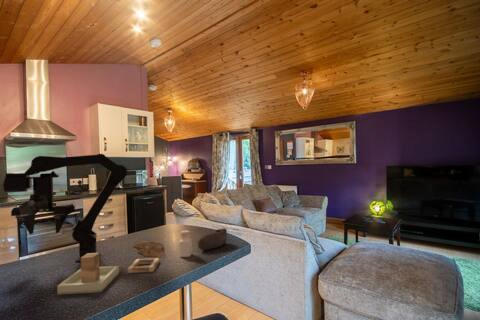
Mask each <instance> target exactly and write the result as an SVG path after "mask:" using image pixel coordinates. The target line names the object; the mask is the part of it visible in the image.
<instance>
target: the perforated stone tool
mask: <svg viewBox="0 0 480 320" xmlns="http://www.w3.org/2000/svg"><path fill="white" fill-rule="evenodd" d="M227 239H228V235H227V229H226V228H225V227H224V228H218V229H216V230H213V231H210V232H208V233H206V234H204V235H202V237H201V238H200V239H199V240H198V243H197V246H198V249H199V250H202V251H208V250H213V248H214V249H216V248H220V247H221V246H224V245H226V242H227Z"/></svg>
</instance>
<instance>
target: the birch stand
mask: <svg viewBox="0 0 480 320" xmlns="http://www.w3.org/2000/svg"><path fill="white" fill-rule="evenodd" d="M159 263H160V258H158V257H145V258H136V259H135V260H134V262H132V264H130V266H128V268H127V273H128V274H132V273H133V274H134V273H136V274H138V273H153V272H154V270H155V269H156V268H157V266H158V265H159ZM142 265H143V266H142Z"/></svg>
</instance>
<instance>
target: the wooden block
mask: <svg viewBox="0 0 480 320" xmlns="http://www.w3.org/2000/svg"><path fill="white" fill-rule="evenodd" d="M99 253H100V252H97V253H87V254H86V255H84V256H83V257H81V261H80V269H81V283H89V282H96V281H97V280H98V279H99V278H100V269H99V267H100V256H99Z"/></svg>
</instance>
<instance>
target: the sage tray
mask: <svg viewBox="0 0 480 320" xmlns="http://www.w3.org/2000/svg"><path fill="white" fill-rule="evenodd" d="M99 269H100V278H99V279H98V280H97V281H96V282H89V283H81V268H79V269H78V270H77V271H75V272H74V273H73V274H71V275H70V276H69V277H67V278H66V279H65V280H63V281H61V282H60V283H59V284H58V285H57V287H56V288H57V289H56V291H57V295H59V296H60V295H72V294H73V295H74V294H75V295H76V294H77V295H78V294H89V293H90V294H93V293H102V292H103V291H104V290H105V289H106V288H107V287H108V285H110V283H112V282H113V280H114V279H115V278H117V276H118V275H119V274H120V266H119V265H109V266H99Z"/></svg>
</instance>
